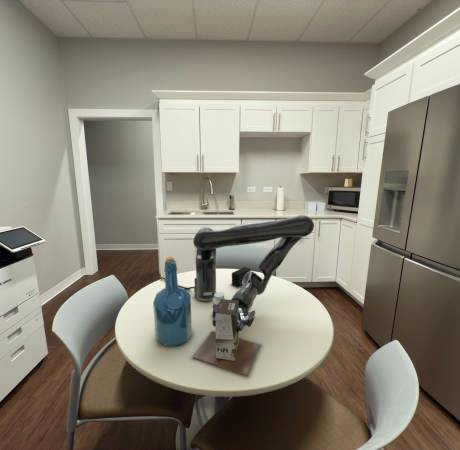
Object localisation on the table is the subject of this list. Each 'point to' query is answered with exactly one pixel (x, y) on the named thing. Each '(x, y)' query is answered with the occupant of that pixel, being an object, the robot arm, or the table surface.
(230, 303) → the coffee box
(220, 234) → the robot arm
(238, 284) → the digital camera
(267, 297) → the table surface
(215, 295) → the pill bottle
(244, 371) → the wooden board
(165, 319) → the wine bottle
